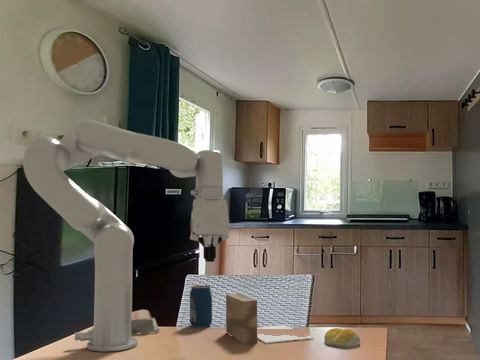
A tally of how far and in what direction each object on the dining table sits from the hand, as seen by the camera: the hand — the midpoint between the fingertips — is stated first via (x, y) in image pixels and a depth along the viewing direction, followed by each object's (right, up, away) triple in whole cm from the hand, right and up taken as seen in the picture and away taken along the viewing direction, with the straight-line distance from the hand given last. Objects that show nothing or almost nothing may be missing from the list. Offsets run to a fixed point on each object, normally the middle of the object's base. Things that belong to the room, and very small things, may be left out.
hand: (209, 261), depth 126 cm
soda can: (-4, -23, +17) cm, 29 cm away
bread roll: (+35, -21, -7) cm, 41 cm away
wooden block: (+9, -21, +1) cm, 23 cm away
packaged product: (-22, -24, +15) cm, 36 cm away
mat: (+18, -22, +4) cm, 29 cm away
